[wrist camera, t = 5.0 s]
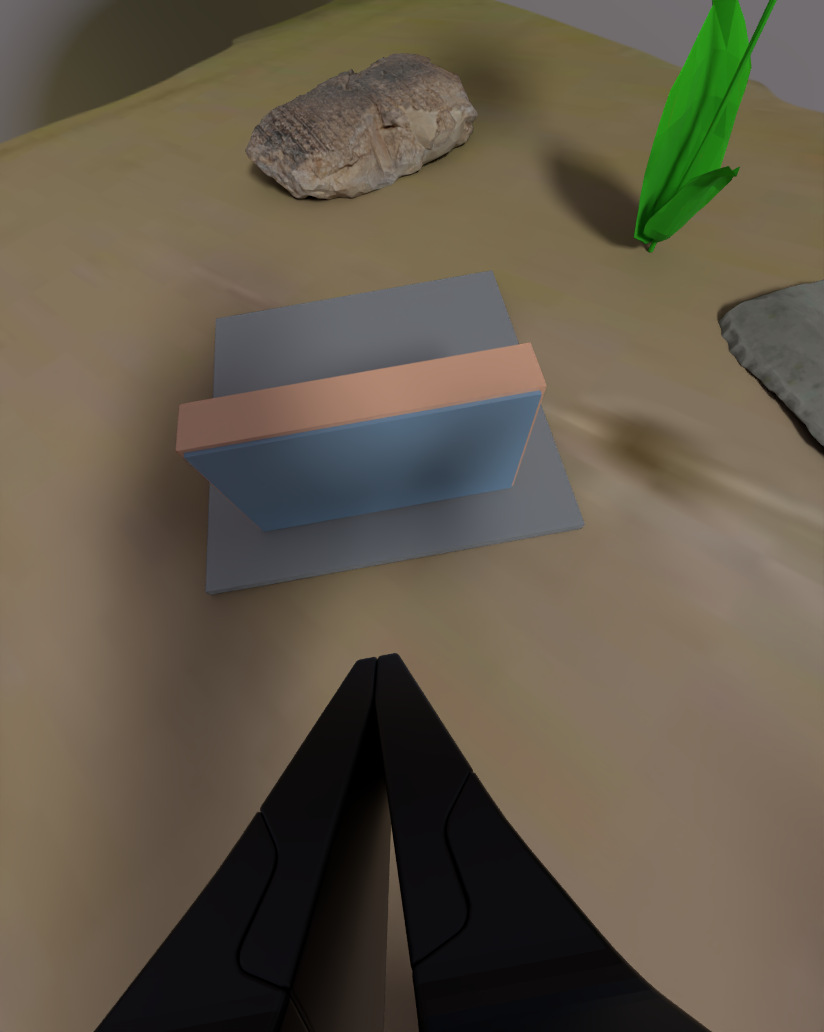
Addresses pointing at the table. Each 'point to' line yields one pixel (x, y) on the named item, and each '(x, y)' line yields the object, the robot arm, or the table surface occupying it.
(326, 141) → the clay tablet
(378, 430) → the tile
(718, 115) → the flower
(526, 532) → the mat
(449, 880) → the robot arm
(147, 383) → the table surface
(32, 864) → the table surface
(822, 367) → the stone slab
